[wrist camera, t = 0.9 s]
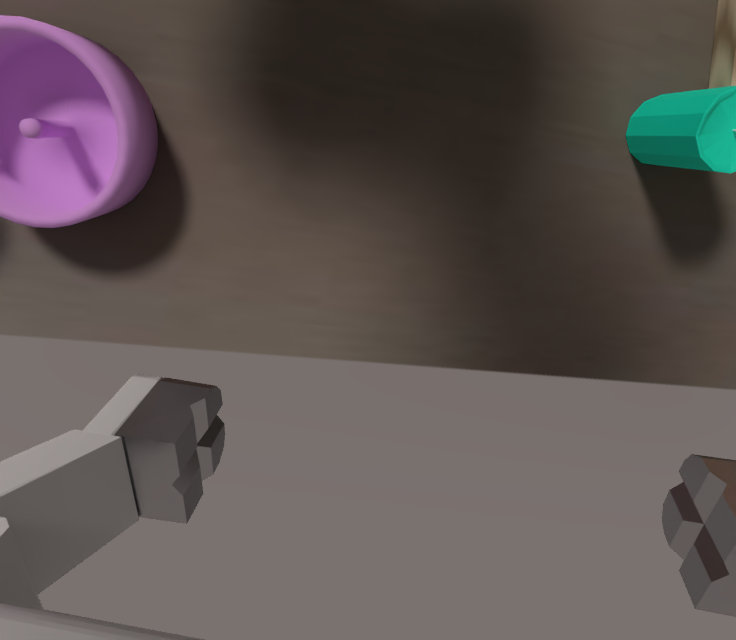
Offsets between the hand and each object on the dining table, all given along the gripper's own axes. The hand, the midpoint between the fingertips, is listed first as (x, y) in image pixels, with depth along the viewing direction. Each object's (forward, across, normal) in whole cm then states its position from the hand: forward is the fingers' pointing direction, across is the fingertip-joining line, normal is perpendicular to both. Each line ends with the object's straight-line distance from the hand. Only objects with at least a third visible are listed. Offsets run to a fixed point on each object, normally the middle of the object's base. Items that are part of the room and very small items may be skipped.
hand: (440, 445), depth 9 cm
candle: (+46, -19, +1) cm, 50 cm away
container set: (+37, +38, +4) cm, 53 cm away
